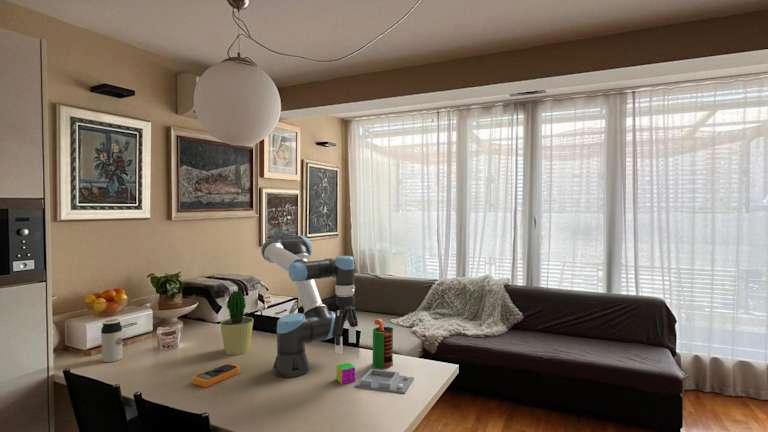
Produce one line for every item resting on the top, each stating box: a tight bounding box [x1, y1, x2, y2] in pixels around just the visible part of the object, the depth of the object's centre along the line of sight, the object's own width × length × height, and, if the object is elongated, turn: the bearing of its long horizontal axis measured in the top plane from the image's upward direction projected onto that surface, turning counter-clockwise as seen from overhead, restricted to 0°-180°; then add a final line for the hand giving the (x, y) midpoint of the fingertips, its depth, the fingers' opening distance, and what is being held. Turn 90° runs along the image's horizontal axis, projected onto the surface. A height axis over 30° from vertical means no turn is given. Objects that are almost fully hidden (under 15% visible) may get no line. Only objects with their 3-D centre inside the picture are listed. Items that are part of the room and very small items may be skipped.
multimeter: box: [192, 363, 241, 388], centre depth 175 cm, size 9×18×3 cm, turn 149°
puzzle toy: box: [335, 362, 356, 385], centre depth 172 cm, size 6×6×6 cm
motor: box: [372, 318, 394, 370], centre depth 188 cm, size 10×9×20 cm
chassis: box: [354, 368, 415, 394], centre depth 169 cm, size 20×14×3 cm
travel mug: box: [100, 318, 123, 363], centre depth 197 cm, size 8×8×18 cm
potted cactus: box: [219, 290, 255, 356], centre depth 207 cm, size 15×15×30 cm
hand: (345, 347), depth 172 cm, fingers open, 13 cm apart
